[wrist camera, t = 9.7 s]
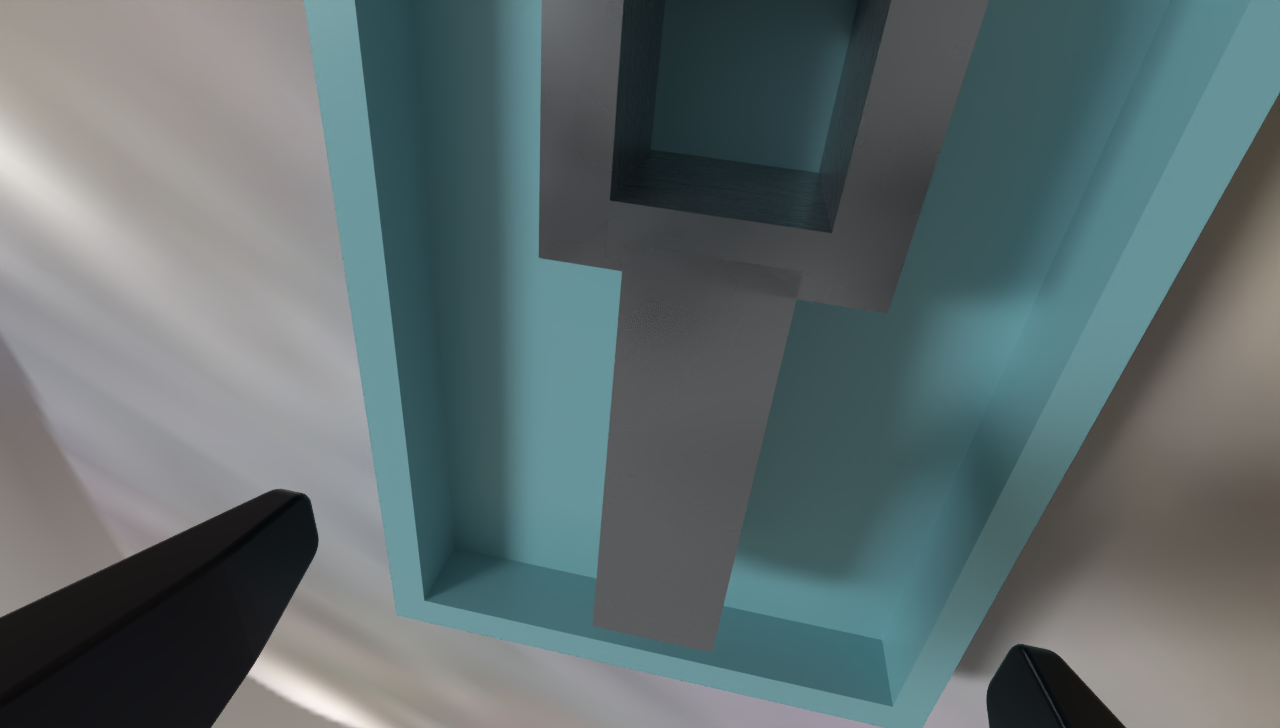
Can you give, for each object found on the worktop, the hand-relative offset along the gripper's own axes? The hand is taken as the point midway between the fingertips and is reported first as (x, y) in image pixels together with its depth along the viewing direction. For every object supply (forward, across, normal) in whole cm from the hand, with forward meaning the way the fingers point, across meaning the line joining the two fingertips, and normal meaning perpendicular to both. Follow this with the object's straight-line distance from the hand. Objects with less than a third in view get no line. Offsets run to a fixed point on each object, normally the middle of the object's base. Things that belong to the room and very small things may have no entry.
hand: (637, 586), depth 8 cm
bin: (+10, 0, 0) cm, 10 cm away
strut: (+9, 0, -1) cm, 9 cm away
